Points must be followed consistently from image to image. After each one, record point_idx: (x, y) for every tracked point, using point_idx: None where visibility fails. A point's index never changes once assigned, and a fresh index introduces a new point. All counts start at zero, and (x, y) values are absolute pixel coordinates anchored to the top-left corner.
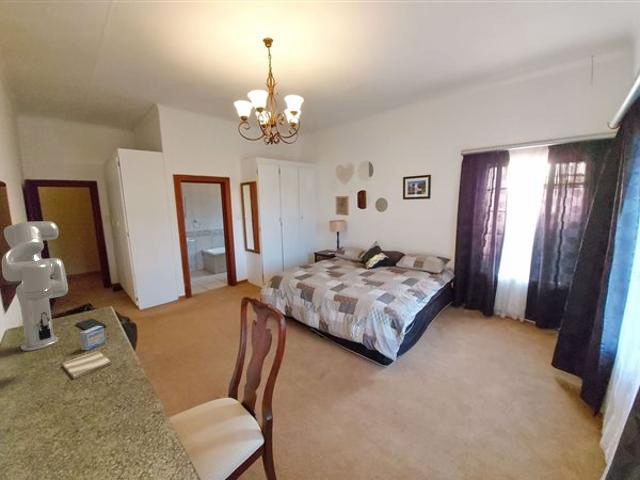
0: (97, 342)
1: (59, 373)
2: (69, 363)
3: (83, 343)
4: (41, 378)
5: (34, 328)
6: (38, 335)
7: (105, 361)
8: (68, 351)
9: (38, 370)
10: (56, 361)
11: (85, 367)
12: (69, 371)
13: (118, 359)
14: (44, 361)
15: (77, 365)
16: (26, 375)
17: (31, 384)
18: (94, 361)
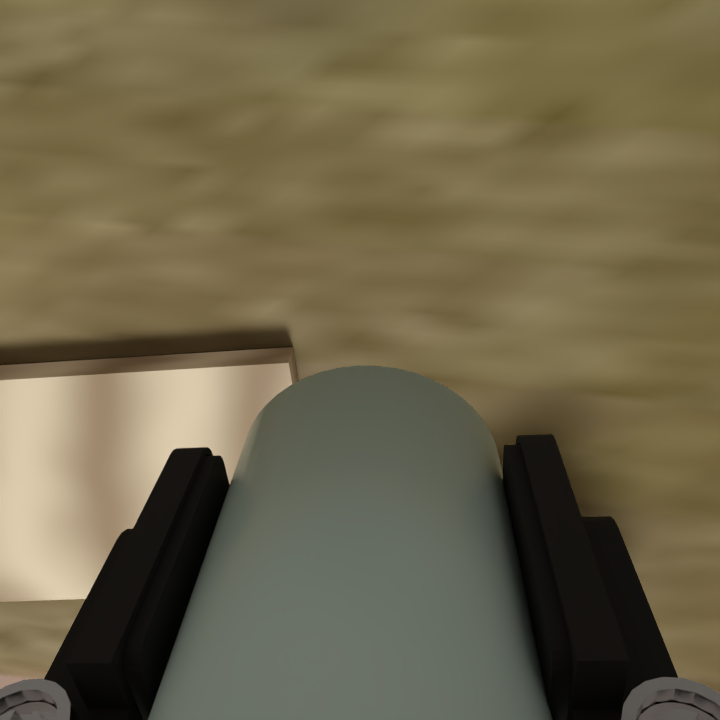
0: None
1: (118, 304)
2: (217, 403)
3: None
4: (119, 169)
5: (318, 666)
6: (234, 510)
7: (25, 580)
8: (645, 430)
9: (378, 164)
10: (471, 321)
11: (7, 473)
12: (26, 376)
13: (66, 623)
14: (600, 236)
15: (107, 440)
16: (342, 50)
17: (30, 77)
18: (92, 535)
